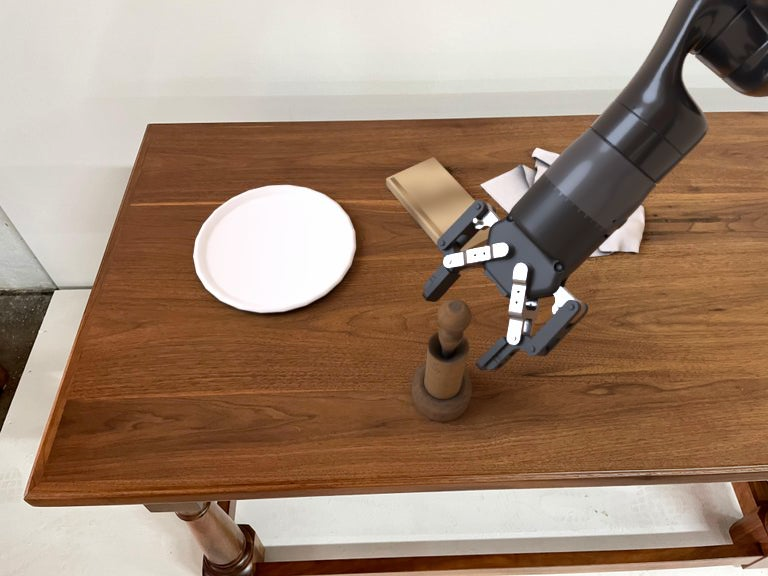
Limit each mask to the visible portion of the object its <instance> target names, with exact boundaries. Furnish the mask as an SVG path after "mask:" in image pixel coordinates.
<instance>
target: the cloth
mask: <svg viewBox="0 0 768 576" xmlns="http://www.w3.org/2000/svg"><path fill="white" fill-rule="evenodd" d="M559 156H560V154H559V153H557V152H553V151H548V150H546V149H543V148H539V147H536V148H535V149H534V151H533V152H532V154H531V158H536V159H535V165H534V169H532V168H530V167H528V166H527V165H525V164H519V165H517V166H516V167H515V168H513V169H511V170H509V171H507V172H504V173H502V174H500V175H497V176H495V177H493V178H491V179H489V180H487V181H485V182H482V183H481V184H479V185H480V187H481V188H482V189H484V191H485V192H486V193H487V194H489V196H490V197H491V198H492V199H493V200H494V201H495V202H496V203H497V204H498V205H499V206H500V207H501V208H502V209H503V210H504V211H505V212H506V213H508V214H509V213H510V211H511V209H512V208H513V206H514V205H515V204H516V203H517V202H518V201H519V200H520V199H521V198H522V196H523V195H524V194H525V193H526V192H527V191H528V190H529V189H530V188H531V186H532V185H533V184H534V183H535V182H536V181H537V180H538V179H539V178H540V177H541V175H542V174H543V173H544V172H545V171H546V170H547V169H548V168H549V167H550V166H551V164H552V163H553V162H554V161H555V160H556V159H557V158H558V157H559ZM535 169H537V170H535ZM645 220H646V215H645V206H644V205H643V203H642V204H641V205H640V206H639V208H638V209H637V210H636V211H635V212H634V213H633V214H632V215H631V216H630V217H629V218H628V220H627V222H626V223H625V224H624V225H623V226H622V227H621V228H620V229H617V230H616V231H615V232H614V233H613V234H612V235H611V236H610V237H609V238H608V239H607V240H606V241H605V242H604V243H603V244H602V245H601V246H600V247H599V248H598V249H597V250H596V251H595V252H594V253H593V254H592V255H591V256H590V257H589V258H597V257H606V256H610V255H612V254H613V253H614V252H626V253H631V252H632V253H635V254H639V250H640V247H641V243H642V240H643V233H644V231H645V222H646V221H645Z"/></svg>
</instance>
